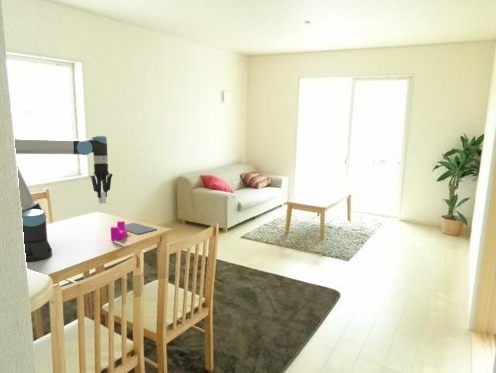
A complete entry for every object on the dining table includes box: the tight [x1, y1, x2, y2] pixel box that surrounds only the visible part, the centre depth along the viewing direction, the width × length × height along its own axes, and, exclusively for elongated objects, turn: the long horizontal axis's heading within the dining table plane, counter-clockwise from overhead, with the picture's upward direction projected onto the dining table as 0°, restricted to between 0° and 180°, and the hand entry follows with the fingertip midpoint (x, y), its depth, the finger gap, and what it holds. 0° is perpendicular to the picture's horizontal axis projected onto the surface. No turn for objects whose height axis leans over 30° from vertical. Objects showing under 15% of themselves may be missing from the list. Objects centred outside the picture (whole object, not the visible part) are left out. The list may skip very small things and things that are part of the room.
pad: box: [125, 222, 158, 235], centre depth 234 cm, size 14×24×1 cm, turn 53°
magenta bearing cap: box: [110, 220, 128, 241], centre depth 217 cm, size 15×6×8 cm, turn 3°
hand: (102, 202), depth 213 cm, fingers closed
